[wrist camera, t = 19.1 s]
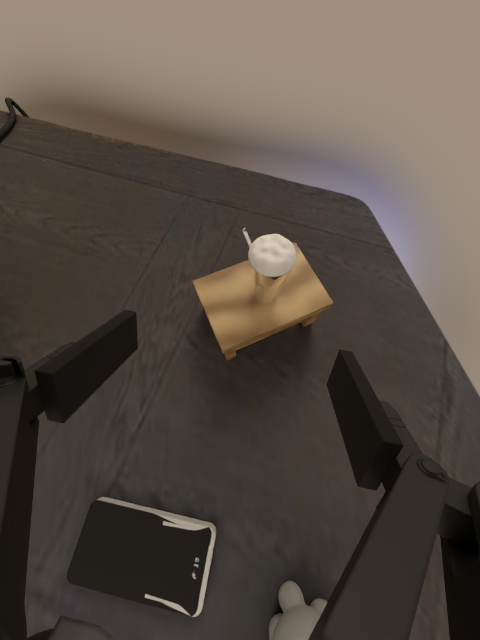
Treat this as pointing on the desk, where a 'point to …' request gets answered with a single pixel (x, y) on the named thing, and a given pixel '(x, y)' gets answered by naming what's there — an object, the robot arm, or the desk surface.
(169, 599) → the smartphone
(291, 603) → the round bodied animal figurine
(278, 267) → the milkshake
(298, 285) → the stool
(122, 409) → the desk surface
